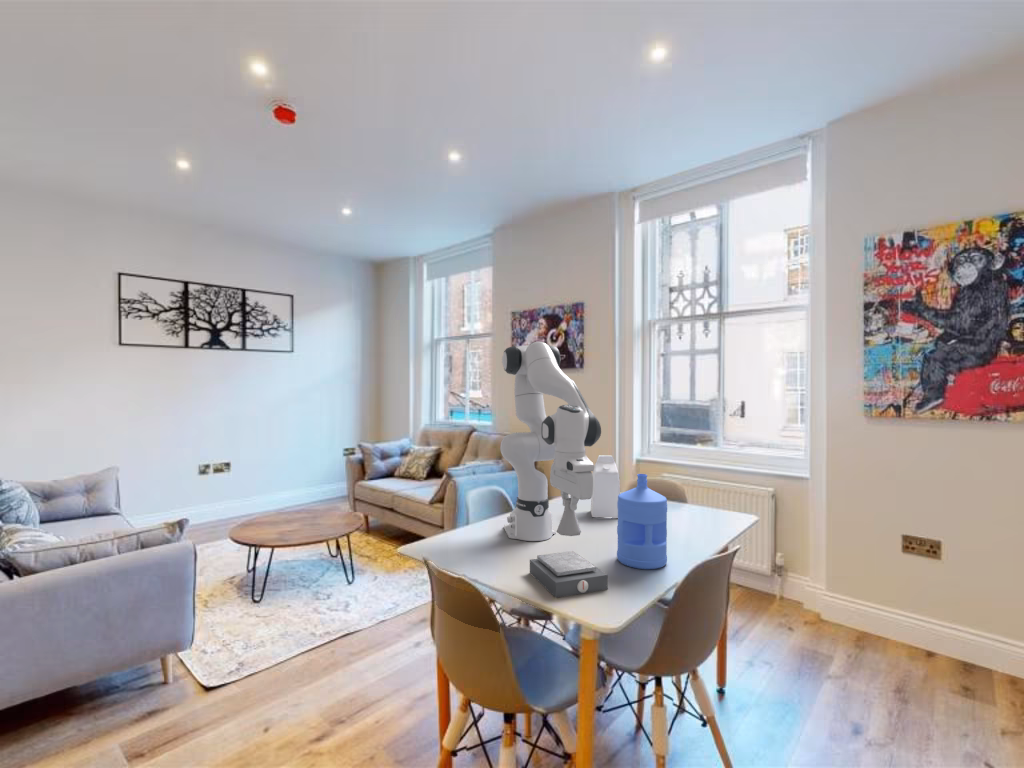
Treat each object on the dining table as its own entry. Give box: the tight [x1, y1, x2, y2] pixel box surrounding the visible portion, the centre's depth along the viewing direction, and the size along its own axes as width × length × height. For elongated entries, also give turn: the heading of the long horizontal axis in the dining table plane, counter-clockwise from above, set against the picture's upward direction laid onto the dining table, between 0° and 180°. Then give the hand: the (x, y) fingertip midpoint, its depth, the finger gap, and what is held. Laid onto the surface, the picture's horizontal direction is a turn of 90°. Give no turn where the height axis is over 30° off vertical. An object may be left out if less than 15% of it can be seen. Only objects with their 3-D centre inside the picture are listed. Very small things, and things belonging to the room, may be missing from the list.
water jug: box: [616, 473, 668, 570], centre depth 156 cm, size 16×16×28 cm
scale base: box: [529, 554, 609, 598], centre depth 140 cm, size 19×16×4 cm
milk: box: [590, 455, 621, 518], centre depth 213 cm, size 12×12×26 cm
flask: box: [556, 497, 582, 537], centre depth 141 cm, size 7×7×10 cm
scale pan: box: [536, 550, 597, 576], centre depth 141 cm, size 14×12×1 cm
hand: (569, 508), depth 141 cm, fingers closed on flask, 3 cm apart
